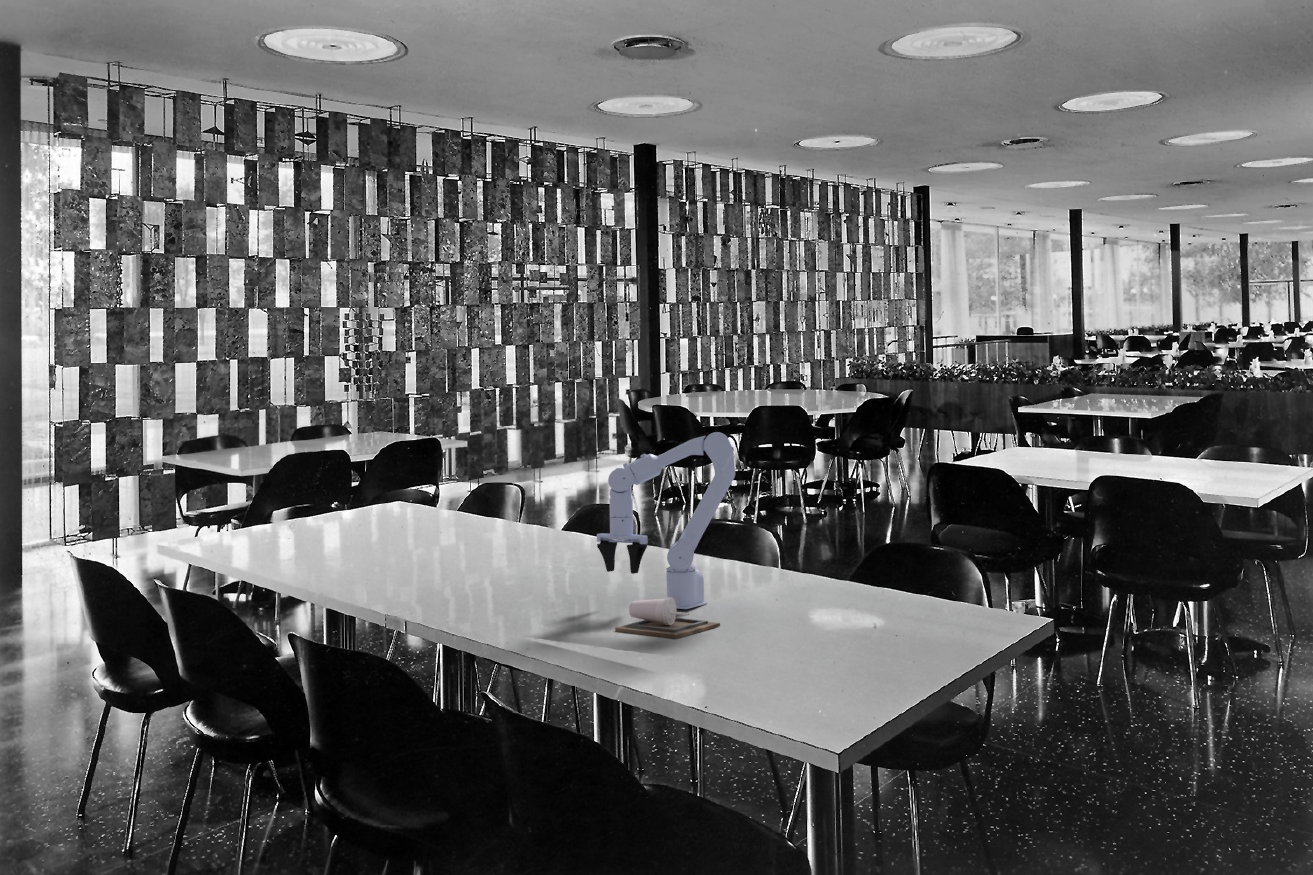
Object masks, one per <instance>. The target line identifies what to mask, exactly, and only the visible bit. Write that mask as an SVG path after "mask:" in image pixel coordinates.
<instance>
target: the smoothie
mask: <svg viewBox="0 0 1313 875" xmlns="http://www.w3.org/2000/svg"><path fill="white" fill-rule="evenodd" d="M677 610H678V608H676V602H675V600H674V598H672V597H667V596H666V598H656V599H655V598H654V599H645V600H644V599H640V600H632V601H631V602H630V603H629V608H628V611H629V615H630V618H634V619H640V620H643V621H644V620H649V621H654V622H659V623H664V624H665V625H672V624H673V623H674V621H675V618H677V617H676V616H677V615H678V616H689V615H690V612H681V611H680V612H679V611H677Z"/></svg>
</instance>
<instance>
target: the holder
mask: <svg viewBox="0 0 1313 875" xmlns="http://www.w3.org/2000/svg"><path fill="white" fill-rule="evenodd" d="M718 626H719V627H721V622H714V621H713V622H712V621H708V620H702V619H695V618H694V619H693V618H686V617H685V618H684V617H683V618H682V617H676V618H675V621H674V623H673V624H672V625H665V624H664V623H659V622H654V621H649V620H644V619H643V620H641V621H640V620H639V621H636V622H632V623H628V624H625V625H620V626H617V627H616V626H615V627H614V629H615V632H618V633H627V634H628V633H629V634H635V635H641V636H642V635H643V636H652V637H659V638H668V639H680V638H684V637H687V636H690V635H695V634H698V633H702V632H706V631H710V630H712V629H713V630H714V629H715V628H718Z"/></svg>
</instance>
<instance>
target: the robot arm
mask: <svg viewBox="0 0 1313 875" xmlns="http://www.w3.org/2000/svg"><path fill="white" fill-rule="evenodd" d="M704 452H705V453H706V455H707V456H708V458H709V459H710V460H711V462H712V466H713V469H714V472H715V474H714V476H713V478H712V479H711V481H710V483H709V484H708V487H707V489H706V491H705V493H704V494H703V496H702V498H701V499H700V501H699V503H698V505H697V507H696V509H695V510H694V512H693V514H692V515H691V518H690V519H689V521H688V523H687V525H686V526H685V529H684V530H683V531H682V533H681V535H680V537H679V539H678V540H677V541H675V542H674V543H672V544H671V546H670V547H669V548H668V549H669V550H668V551H667V555H666V559H667V563H668V565H669V566H668V567H666V570H665V571H666V574H665V575H666V576H665V577H666V598H667V597H672V598H674V600H675V602H676V608H677V610H679V609H680V610H688V609H692V608H697V607H700V606H701V607H702V606H705V605H707V604H708V602H707V601H705V593H704V592H705V590H704V589H705V588H704V586H705V584H704V582H705V581H704V576H703V573H702V572H701V571H700V570H698V569H697V568H696V566H695V565H694V564H693V561H694V556H695V553H694V552H695V550H696V549H697V547H698V544H699V543H700V540H701V539H702V537H703V534H704V533H705V531H706V529H707V528H708V526H709V524H710V522H711V521H712V519H713V517H714V515H715V513H716V511H717V509H718V508H719V506H720V504H721V503H722V500H723V499H724V497H725V495H726V494H727V492H728V490H729V488H730V486H731V485H732V482H733V481H734V479H735V477H736V466H735V457H734V448H733V446H732V444H731V441H730V440H729V438H728V436H727V435H726V434H724V433H722V432H720V431H719V432H718V431H715V432H712V433H710V434H708V435H702V436H699V437H695V438H692V439H689V440H687V441H685V442H682V443H681V444H679V445H677V446H675V447H673V448H671V449H669V450H667V451H666V452H664V453H662V454H659V455H654V454H652V453H649V454H646V453H642V454H641V455H640V457H639V458H637V459H635V460H633V461H631V462H629V463H627V462H624V463H623V464H622V466H623V467H617V468H615V469H614V470H612V471H611V472H610V474H609V475H608V480H607V481H608V482H607V483H608V486H609V487H610V489H609V496H610V498H609V533H604V532H603V533H597V534H596V542H597V544H596V547H597V549H598V550H599V553H600V555H601V557H602V559H603V561H604V566H605V569H606V573H607V572H608V573H609V572H615V569H616V568H615V563H616V562H615V561H616V560H615V558H616V550H617V546H618V543H619V544H620V543H621V544H626V549H627V552H628V557H629V566H630V567H629V568H630V573H631V574H633V575H634V574H638V573H639V570H640V565H641V562H642V559H643V557H644V554H645V551H646V550H647V548H648V543H649V542H648V541H649V540H648V535H643V534H634V509H633V508H634V505H633V503H634V502H633V497H632V496H633V495H632V486H633V485H636V486H638V485H640V484H643V483H646V482H647V481H649V480H651V479H654V478H655V477H657V476H660V475H661V473H662V470H663V468H664V467H667V466H668V465H671V464H673V463H676V462H678V461H680V460H682V459H685V458H688V457H689V456H704Z"/></svg>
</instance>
